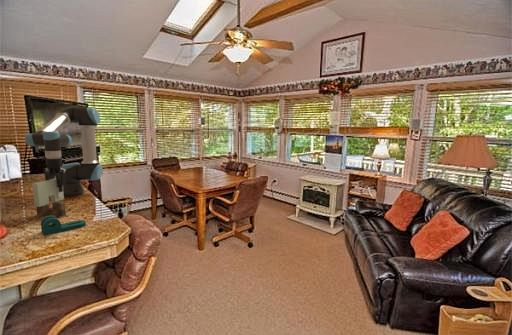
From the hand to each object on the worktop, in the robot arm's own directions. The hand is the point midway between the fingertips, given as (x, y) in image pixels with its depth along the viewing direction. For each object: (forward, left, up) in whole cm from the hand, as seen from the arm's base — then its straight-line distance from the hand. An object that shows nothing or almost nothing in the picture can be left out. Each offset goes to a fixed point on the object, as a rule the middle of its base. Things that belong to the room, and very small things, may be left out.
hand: (57, 196), depth 157 cm
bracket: (+27, +18, -10) cm, 34 cm away
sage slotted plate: (+5, -1, -2) cm, 5 cm away
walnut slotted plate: (+5, -1, -10) cm, 11 cm away
